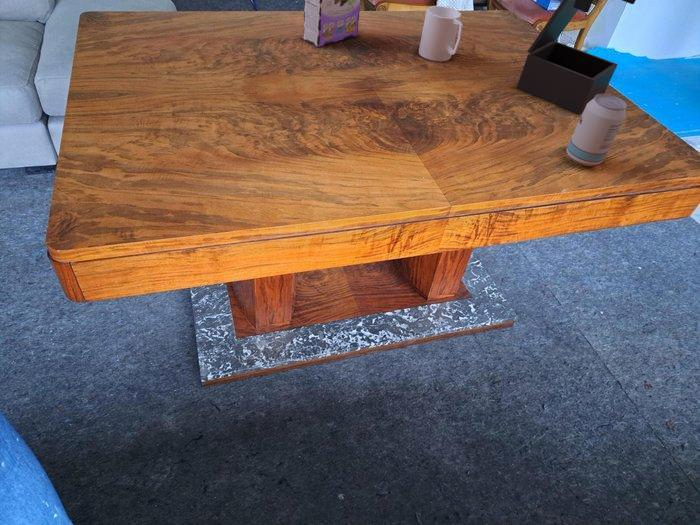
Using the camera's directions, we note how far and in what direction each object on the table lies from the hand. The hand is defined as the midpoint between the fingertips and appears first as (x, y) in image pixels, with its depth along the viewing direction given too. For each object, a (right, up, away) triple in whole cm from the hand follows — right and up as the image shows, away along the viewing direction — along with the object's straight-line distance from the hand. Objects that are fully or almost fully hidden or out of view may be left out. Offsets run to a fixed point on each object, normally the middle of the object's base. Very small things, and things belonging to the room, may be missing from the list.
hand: (604, 5), depth 91 cm
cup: (-23, +5, +36) cm, 43 cm away
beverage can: (-1, -26, +7) cm, 27 cm away
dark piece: (+4, -6, +28) cm, 29 cm away
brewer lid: (+1, +8, +19) cm, 20 cm away
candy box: (-50, +11, +38) cm, 64 cm away
